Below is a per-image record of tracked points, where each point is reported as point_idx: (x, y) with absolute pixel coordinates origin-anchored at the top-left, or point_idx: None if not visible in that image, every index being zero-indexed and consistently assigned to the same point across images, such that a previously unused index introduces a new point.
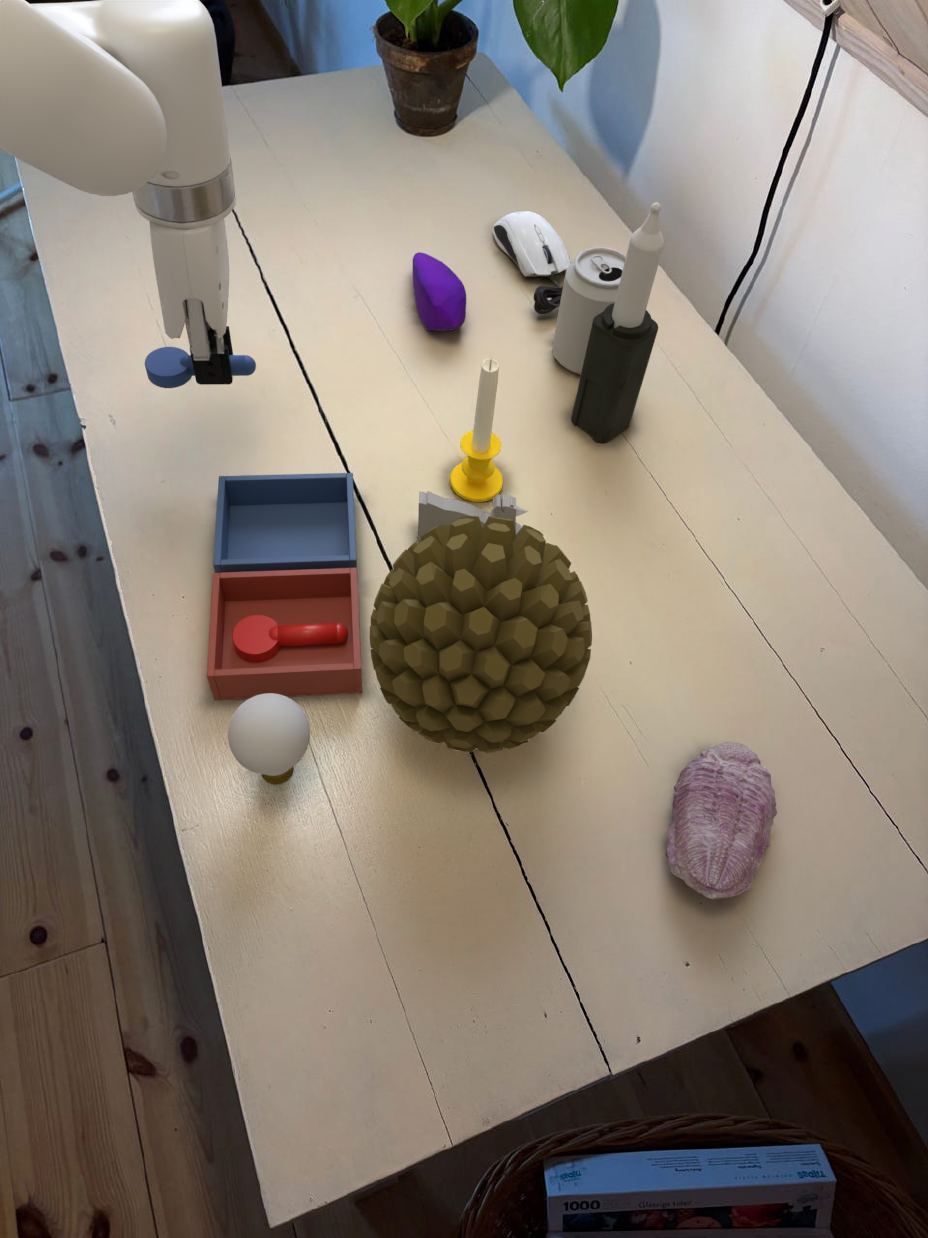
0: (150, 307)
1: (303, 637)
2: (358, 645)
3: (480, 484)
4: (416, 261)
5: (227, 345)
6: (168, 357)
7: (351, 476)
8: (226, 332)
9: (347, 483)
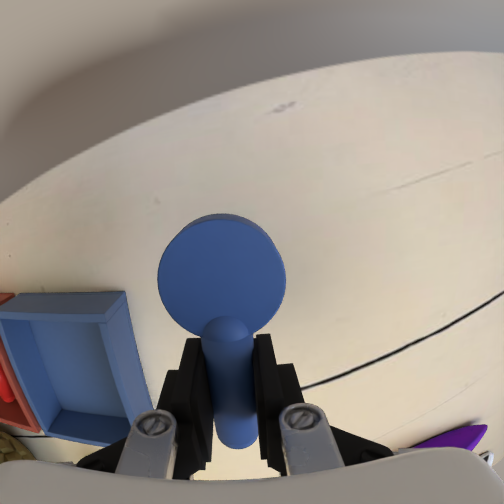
0: (487, 154)
1: None
2: None
3: None
4: (472, 443)
5: (204, 469)
6: (236, 284)
7: None
8: (263, 459)
9: None
